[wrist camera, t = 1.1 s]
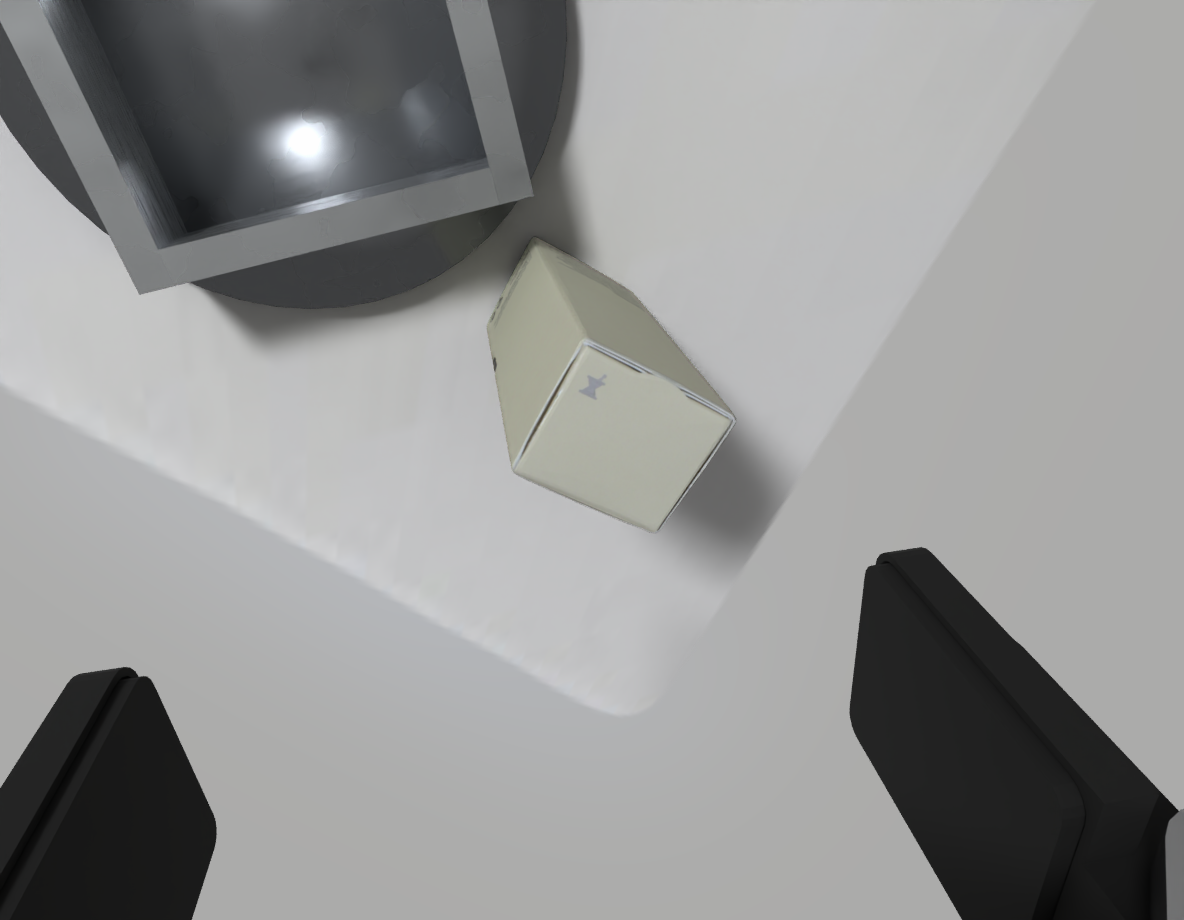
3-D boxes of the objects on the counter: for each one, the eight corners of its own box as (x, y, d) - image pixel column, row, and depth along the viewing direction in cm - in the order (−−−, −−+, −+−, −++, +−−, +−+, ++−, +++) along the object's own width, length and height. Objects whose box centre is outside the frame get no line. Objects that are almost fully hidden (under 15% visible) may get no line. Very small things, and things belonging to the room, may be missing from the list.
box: (482, 326, 32) (493, 472, 20) (533, 230, 30) (576, 330, 19) (591, 381, 33) (658, 544, 22) (645, 294, 32) (745, 419, 21)
